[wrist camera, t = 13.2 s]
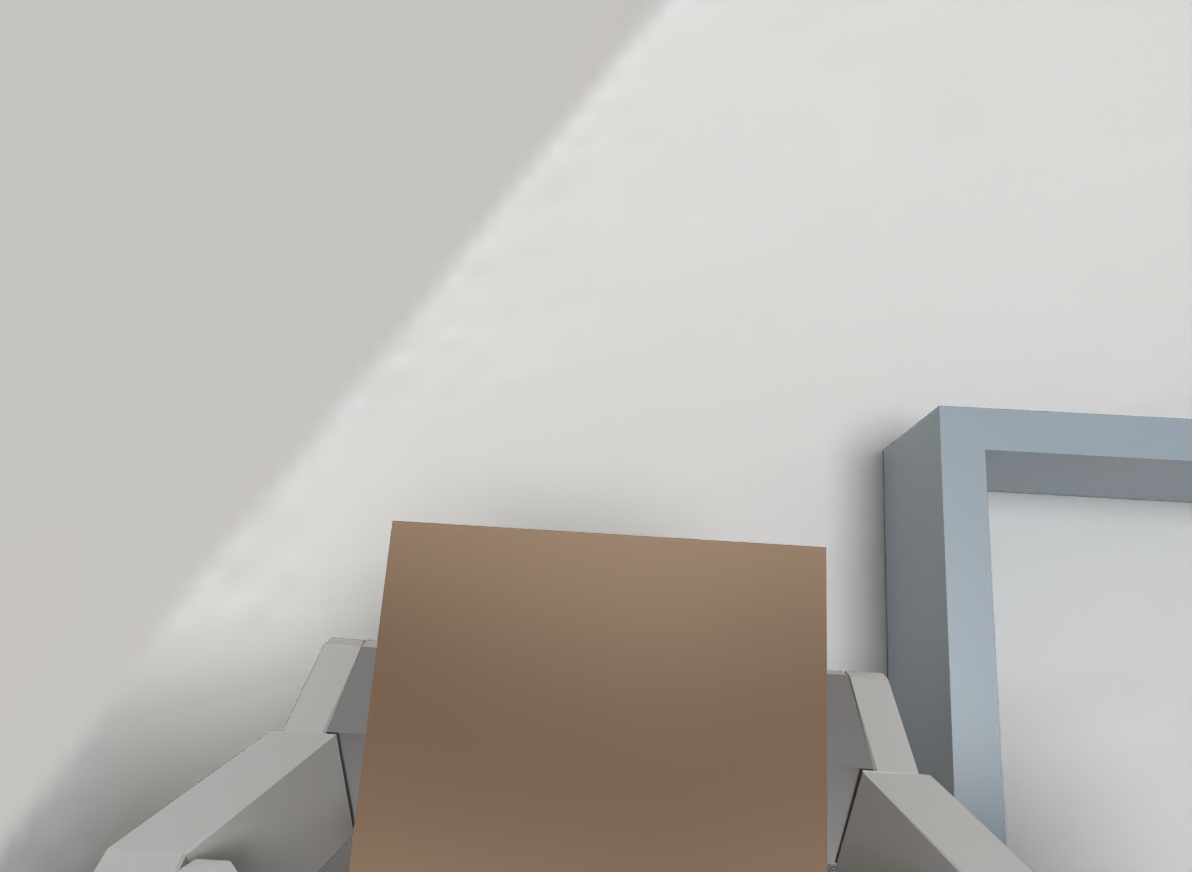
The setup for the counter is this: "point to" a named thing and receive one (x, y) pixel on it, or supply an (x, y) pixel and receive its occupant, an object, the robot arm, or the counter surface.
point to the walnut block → (595, 705)
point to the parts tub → (988, 560)
